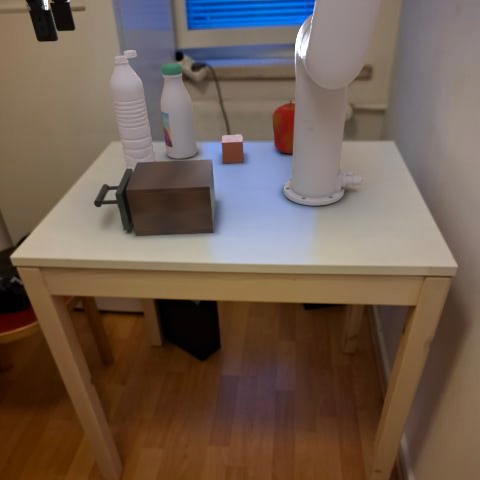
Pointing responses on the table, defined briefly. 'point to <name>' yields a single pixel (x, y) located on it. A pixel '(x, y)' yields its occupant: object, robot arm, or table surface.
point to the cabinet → (172, 197)
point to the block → (232, 148)
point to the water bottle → (131, 112)
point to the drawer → (118, 199)
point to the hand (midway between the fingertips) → (57, 35)
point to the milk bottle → (177, 114)
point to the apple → (284, 127)
